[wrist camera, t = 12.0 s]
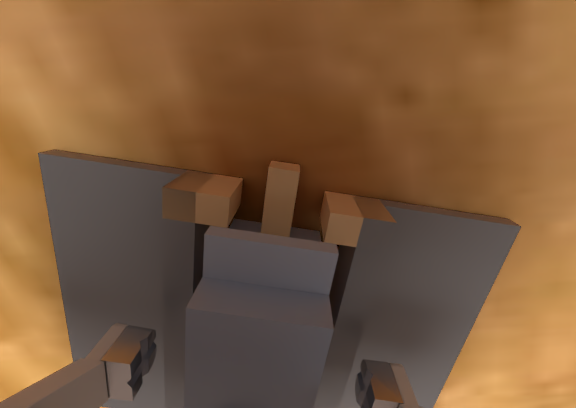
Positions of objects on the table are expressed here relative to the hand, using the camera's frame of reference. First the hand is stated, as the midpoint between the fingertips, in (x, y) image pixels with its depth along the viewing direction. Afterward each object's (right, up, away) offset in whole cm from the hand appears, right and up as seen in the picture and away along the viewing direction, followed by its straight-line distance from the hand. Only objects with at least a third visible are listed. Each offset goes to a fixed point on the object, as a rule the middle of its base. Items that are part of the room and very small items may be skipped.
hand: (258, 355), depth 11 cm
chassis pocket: (0, 0, +4) cm, 4 cm away
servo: (0, +1, +3) cm, 4 cm away
